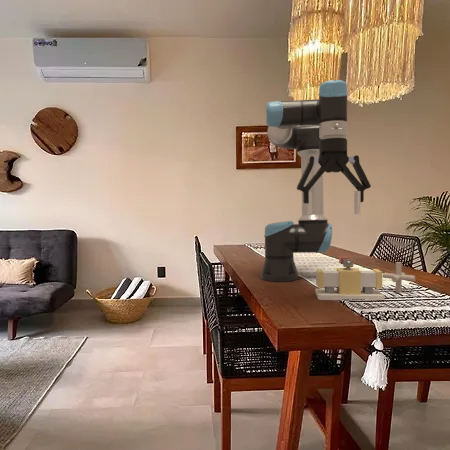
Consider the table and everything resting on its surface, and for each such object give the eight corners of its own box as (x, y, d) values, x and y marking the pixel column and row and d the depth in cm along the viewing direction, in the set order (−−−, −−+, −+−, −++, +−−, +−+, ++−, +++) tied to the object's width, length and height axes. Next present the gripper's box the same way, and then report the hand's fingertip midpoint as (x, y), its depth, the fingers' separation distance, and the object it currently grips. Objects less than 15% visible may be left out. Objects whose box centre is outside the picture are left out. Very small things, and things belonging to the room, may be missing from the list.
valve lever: (338, 262, 132) (338, 256, 132) (347, 262, 132) (347, 256, 132) (344, 267, 121) (344, 261, 121) (354, 267, 121) (354, 261, 121)
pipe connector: (387, 287, 135) (387, 259, 135) (418, 290, 129) (418, 261, 128) (378, 292, 128) (378, 263, 127) (410, 296, 121) (410, 265, 121)
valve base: (315, 293, 129) (315, 265, 128) (376, 293, 126) (376, 265, 125) (318, 299, 120) (318, 269, 119) (384, 300, 117) (384, 270, 117)
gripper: (291, 137, 101) (291, 216, 103) (383, 135, 102) (382, 214, 103) (286, 141, 109) (287, 215, 110) (372, 140, 109) (372, 213, 110)
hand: (333, 214), depth 107 cm, fingers open, 13 cm apart
